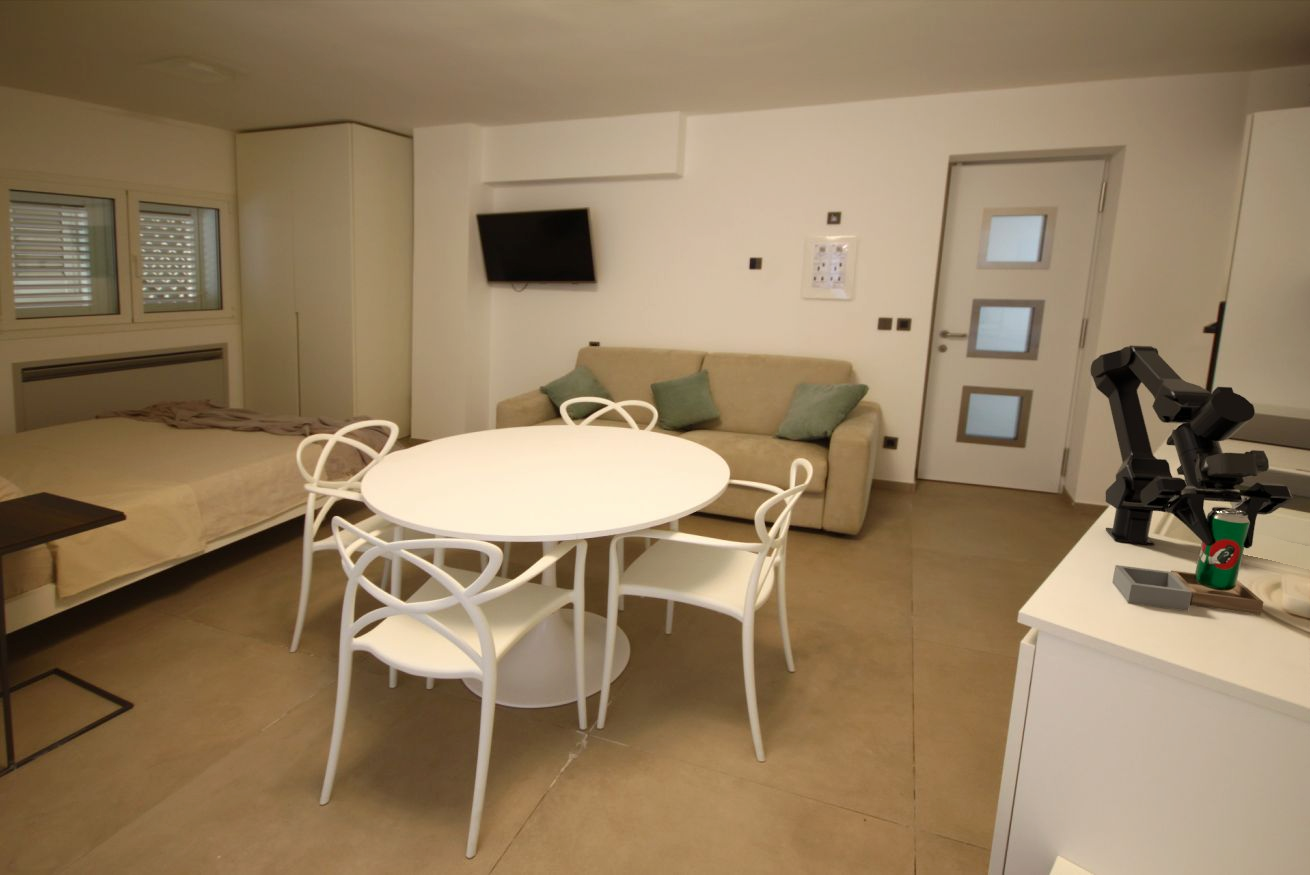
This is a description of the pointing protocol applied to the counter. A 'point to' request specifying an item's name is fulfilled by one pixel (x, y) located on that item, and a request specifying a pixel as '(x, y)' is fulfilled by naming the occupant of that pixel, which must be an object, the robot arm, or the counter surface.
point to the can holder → (1151, 587)
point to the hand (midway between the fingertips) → (1229, 545)
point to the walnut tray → (1221, 596)
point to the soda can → (1222, 549)
